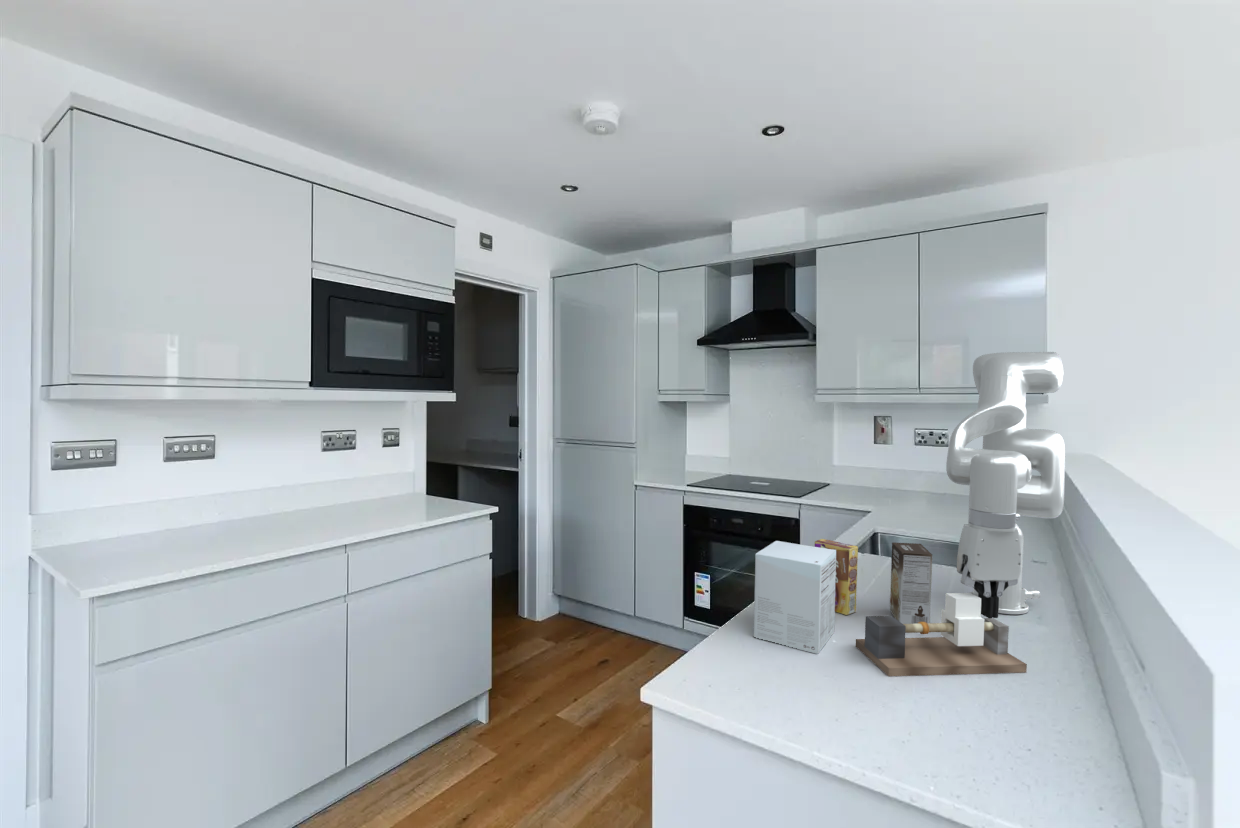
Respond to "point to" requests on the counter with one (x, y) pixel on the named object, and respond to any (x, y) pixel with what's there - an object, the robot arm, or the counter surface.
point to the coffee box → (910, 583)
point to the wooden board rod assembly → (935, 649)
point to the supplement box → (795, 595)
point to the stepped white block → (963, 619)
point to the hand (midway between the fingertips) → (987, 615)
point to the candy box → (843, 574)
